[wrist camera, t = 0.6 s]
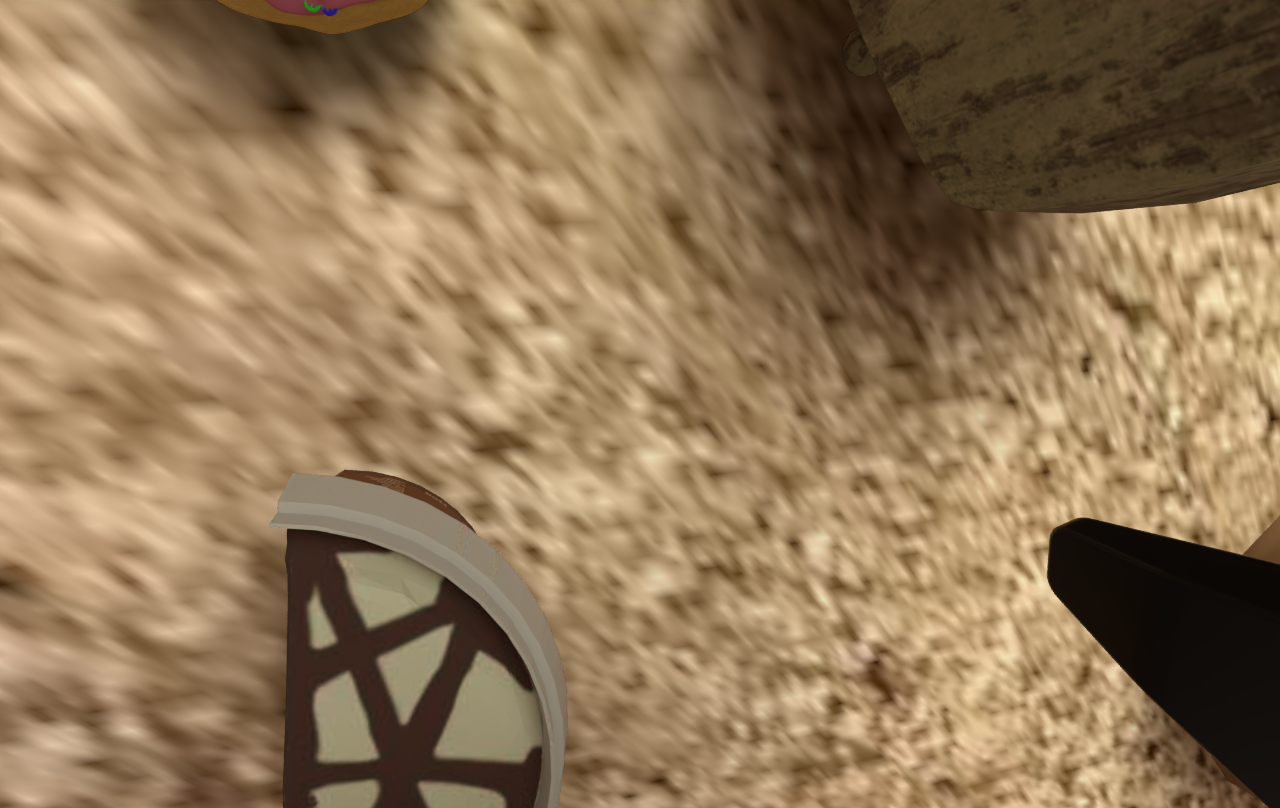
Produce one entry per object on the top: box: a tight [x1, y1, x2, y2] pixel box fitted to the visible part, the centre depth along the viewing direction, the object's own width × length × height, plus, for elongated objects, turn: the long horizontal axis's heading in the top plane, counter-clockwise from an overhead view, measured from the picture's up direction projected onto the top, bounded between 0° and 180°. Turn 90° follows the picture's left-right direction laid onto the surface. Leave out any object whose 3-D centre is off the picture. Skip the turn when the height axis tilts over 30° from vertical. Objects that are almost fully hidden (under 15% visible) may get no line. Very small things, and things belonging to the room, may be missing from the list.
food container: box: [270, 470, 568, 808], centre depth 20 cm, size 12×6×10 cm, turn 177°
